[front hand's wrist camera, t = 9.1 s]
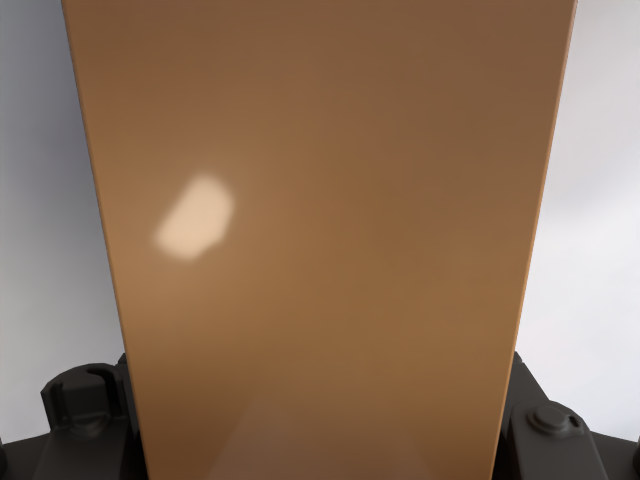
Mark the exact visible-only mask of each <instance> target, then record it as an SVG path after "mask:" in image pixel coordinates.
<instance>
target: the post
mask: <svg viewBox="0 0 640 480" xmlns="http://www.w3.org/2000/svg"><path fill="white" fill-rule="evenodd" d="M577 2H578V0H61V3H62V9H63V14H64V20H65V25H66V31H67V36H68V42H69V47H70V52H71V58H72V63H73V69H74V74H75V80H76V85H77V91H78V96H79V102H80V107H81V113H82V118H83V124H84V129H85V135H86V140H87V145H88V151H89V156H90V162H91V167H92V173H93V178H94V184H95V189H96V195H97V200H98V206H99V211H100V217H101V222H102V228H103V233H104V239H105V244H106V249H107V255H108V260H109V266H110V271H111V277H112V282H113V288H114V293H115V299H116V304H117V310H118V315H119V321H120V326H121V332H122V337H123V343H124V348H125V353H126V359H127V364H128V370H129V375H130V381H131V386H132V392H133V397H134V403H135V408H136V414H137V419H138V425H139V430H140V436H141V441H142V447H143V452H144V457H145V463H146V468H147V474H148V479H149V480H491V478H492V472H493V467H494V461H495V456H496V450H497V445H498V439H499V434H500V428H501V422H502V417H503V411H504V406H505V400H506V395H507V389H508V384H509V378H510V373H511V367H512V362H513V356H514V351H515V345H516V339H517V334H518V328H519V323H520V317H521V312H522V306H523V301H524V295H525V290H526V284H527V279H528V273H529V267H530V262H531V256H532V251H533V245H534V240H535V234H536V229H537V223H538V218H539V212H540V207H541V201H542V196H543V190H544V184H545V179H546V173H547V168H548V162H549V157H550V151H551V146H552V140H553V135H554V129H555V124H556V118H557V112H558V107H559V101H560V96H561V90H562V85H563V79H564V74H565V68H566V63H567V57H568V52H569V46H570V41H571V35H572V29H573V24H574V18H575V13H576V7H577Z"/></svg>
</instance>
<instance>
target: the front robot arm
mask: <svg viewBox="0 0 640 480" xmlns="http://www.w3.org/2000/svg"><path fill="white" fill-rule="evenodd" d="M40 393H41V396H42V400H43V404H44V407H45V411H46V414H47V418H48V422H49V425H50V429H51V430H50V433H47V434H44V435H40V436H37V437H33V438H28V439H24V440H20V441H15V442H11V443H7V444H2V441H1V438H0V480H149V479H148V474H147V468H146V463H145V457H144V452H143V447H142V441H141V436H140V430H139V425H138V419H137V414H136V408H135V403H134V397H133V392H132V386H131V381H130V375H129V370H128V364H127V359H126V353H123V355H122V356H121V357H120V359H119V360H118V364H116V365H115V366H113V365H109V364H105V363H92V364H86V365H82V366H78V367H74V368H72V369H70V370H67V371H65V372H63V373H61V374H59V375H58V376H56V377H55V378H54V379H52V380H51V381H49V382H48V383H47V384H46V386H45V387H44V388H43V390H42V391H41V392H40ZM491 480H640V437H639V440H638V443H637V442H633V441H628V440H624V439H620V438H615V437H611V436H607V435H602V434H599V433H596V432H592V431H590V430H589V428H588V426H587V425H586V423H585V422H584V420H583V419H582V418H581V417H580V416H579V415H577V414H576V413H575V412H574V411H573V410H571V409H569V408H567V407H565V406H564V405H562V404H560V403H558V402H554V401H551V400H549V399H548V398H547V396H546V395H545V393H544V392H543V390H542V389H541V387H540V386H539V384H538V383H537V381H536V380H535V378H534V377H533V375H532V374H531V372H530V371H529V369H528V368H527V366H526V365H525V363H522V359H521V358H520V356H519V355H518V353H517V352H516V351H514V356H513V362H512V367H511V373H510V378H509V384H508V389H507V395H506V400H505V406H504V411H503V417H502V422H501V428H500V434H499V439H498V445H497V450H496V456H495V461H494V467H493V472H492V478H491Z"/></svg>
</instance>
